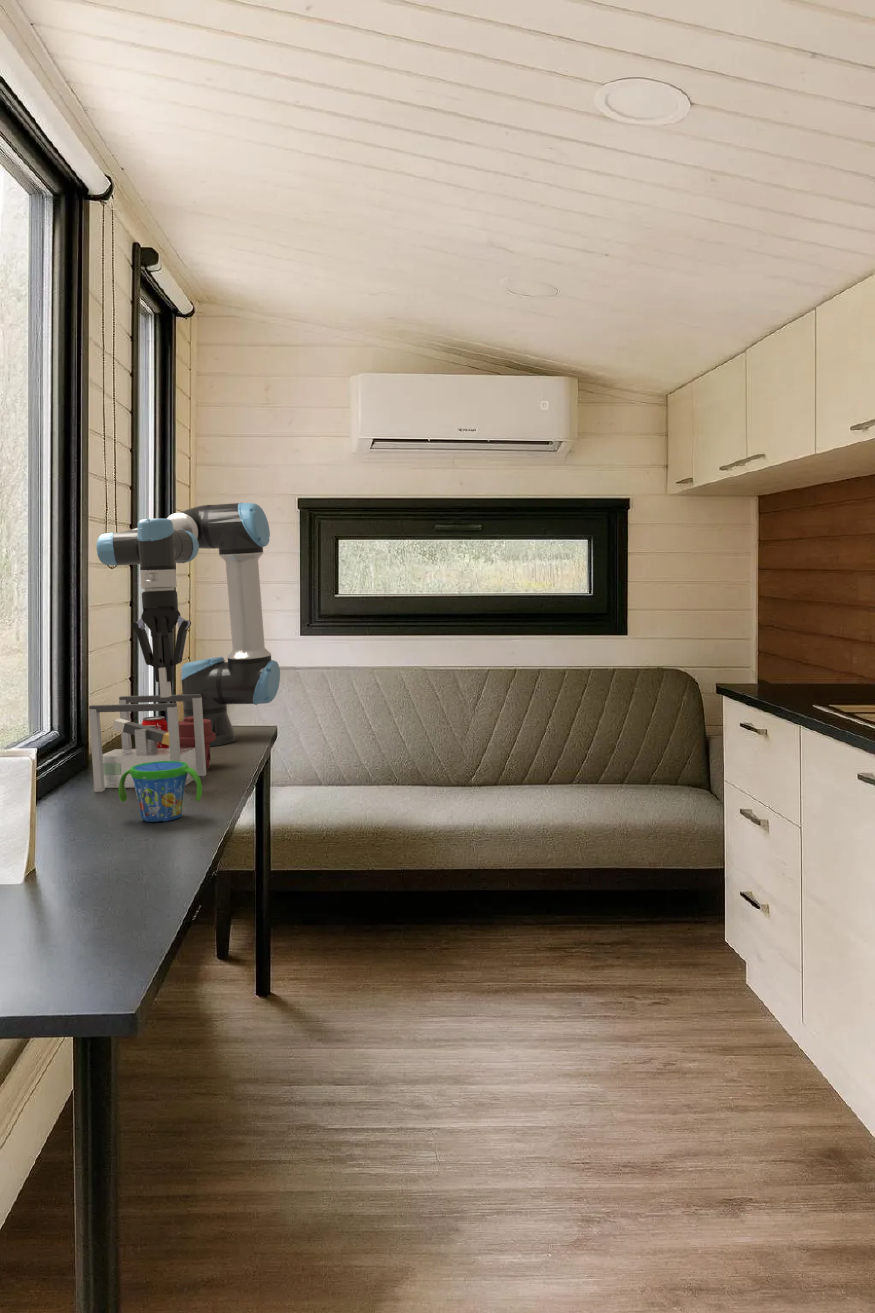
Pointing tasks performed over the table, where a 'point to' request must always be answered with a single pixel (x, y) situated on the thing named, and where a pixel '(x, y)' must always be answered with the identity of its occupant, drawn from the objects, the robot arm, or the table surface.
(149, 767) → the snack cup
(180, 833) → the table surface
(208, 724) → the mechanical component
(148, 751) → the grey box
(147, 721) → the soda can
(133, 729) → the lever
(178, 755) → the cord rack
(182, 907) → the table surface
